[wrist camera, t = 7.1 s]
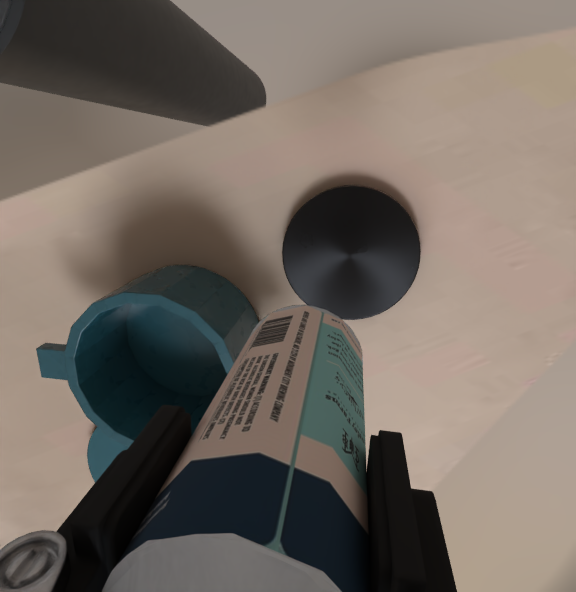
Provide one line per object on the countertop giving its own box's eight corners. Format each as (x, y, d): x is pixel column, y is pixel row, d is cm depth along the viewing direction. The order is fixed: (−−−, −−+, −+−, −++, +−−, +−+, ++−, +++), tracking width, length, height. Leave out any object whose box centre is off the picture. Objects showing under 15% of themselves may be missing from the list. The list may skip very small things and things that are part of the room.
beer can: (235, 377, 18) (42, 735, 7) (270, 282, 17) (93, 549, 5) (335, 419, 18) (304, 851, 7) (382, 327, 16) (442, 699, 5)
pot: (84, 258, 35) (15, 283, 28) (296, 271, 32) (280, 303, 25) (102, 389, 39) (46, 440, 32) (292, 410, 36) (276, 471, 29)
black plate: (285, 182, 30) (283, 183, 29) (427, 187, 29) (429, 188, 28) (282, 310, 33) (281, 314, 32) (409, 320, 32) (411, 325, 31)
